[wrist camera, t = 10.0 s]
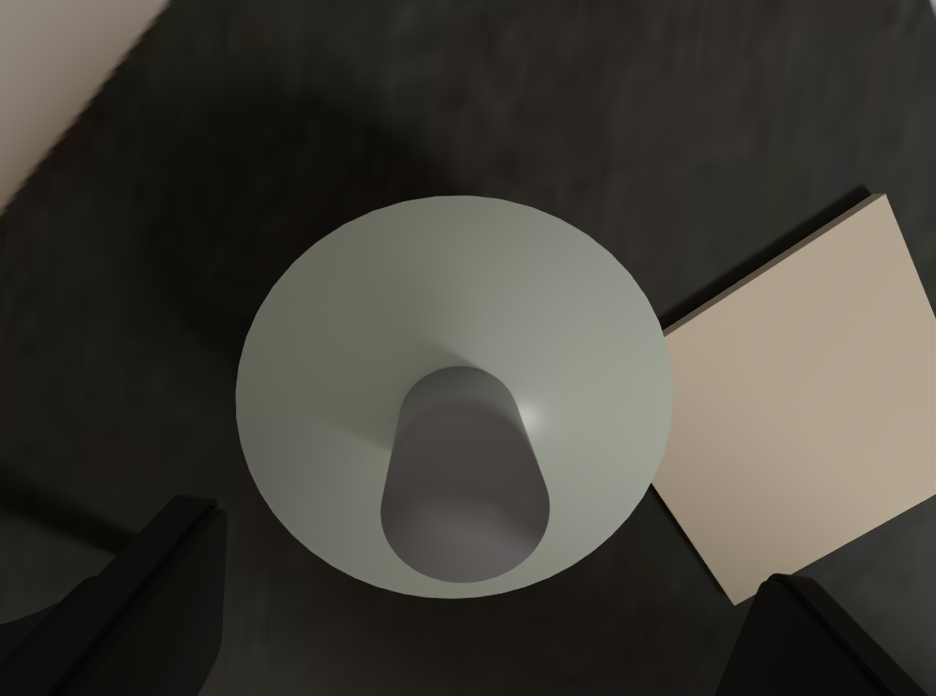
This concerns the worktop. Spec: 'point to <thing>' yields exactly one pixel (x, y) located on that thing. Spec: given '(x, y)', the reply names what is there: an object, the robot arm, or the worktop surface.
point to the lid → (454, 397)
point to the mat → (803, 403)
